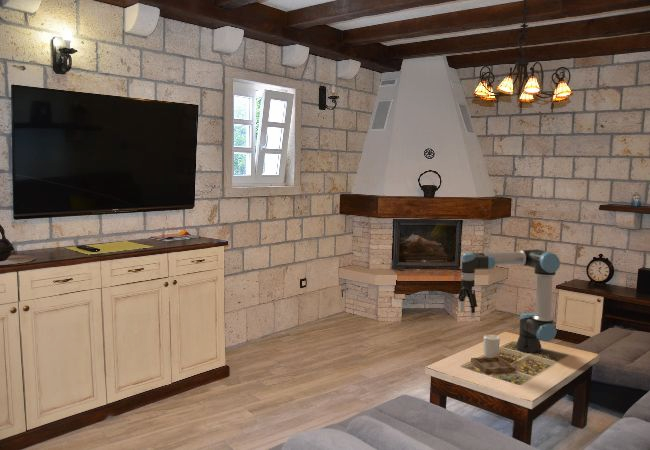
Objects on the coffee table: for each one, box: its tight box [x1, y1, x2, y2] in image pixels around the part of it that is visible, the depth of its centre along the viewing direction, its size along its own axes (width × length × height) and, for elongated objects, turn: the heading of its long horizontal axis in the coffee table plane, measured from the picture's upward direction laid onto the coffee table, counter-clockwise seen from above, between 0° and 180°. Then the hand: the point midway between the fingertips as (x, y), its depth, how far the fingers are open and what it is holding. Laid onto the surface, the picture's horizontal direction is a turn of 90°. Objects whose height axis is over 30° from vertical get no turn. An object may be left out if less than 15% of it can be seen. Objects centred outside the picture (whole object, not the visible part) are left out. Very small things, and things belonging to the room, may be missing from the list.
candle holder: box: [483, 334, 501, 357], centre depth 320 cm, size 10×10×12 cm
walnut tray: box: [470, 355, 516, 375], centre depth 302 cm, size 18×18×3 cm
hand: (467, 315), depth 309 cm, fingers open, 13 cm apart
